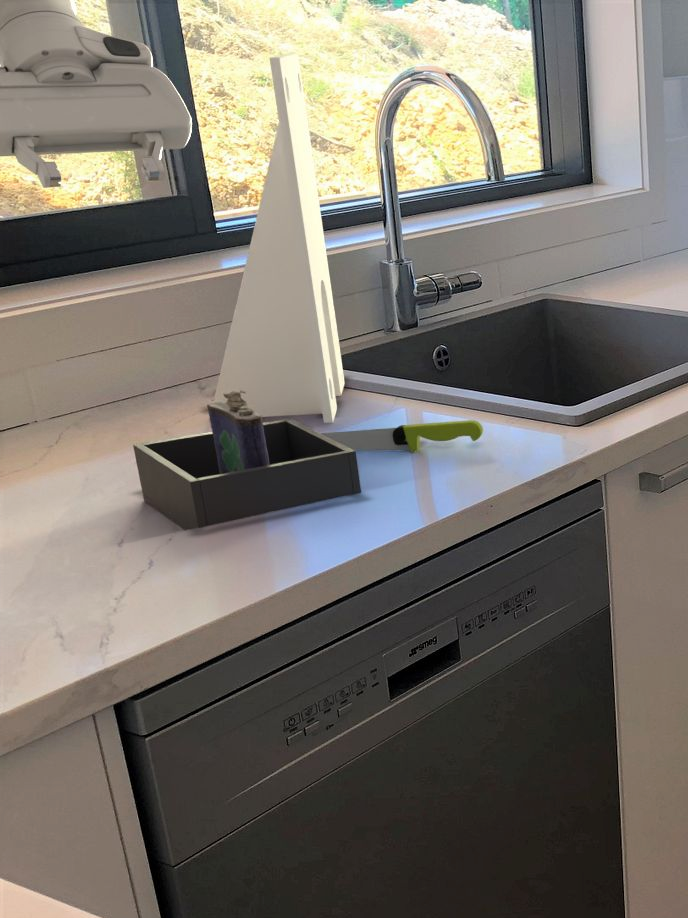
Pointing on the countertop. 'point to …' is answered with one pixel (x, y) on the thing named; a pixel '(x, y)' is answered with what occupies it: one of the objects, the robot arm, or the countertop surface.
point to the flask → (237, 434)
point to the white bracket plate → (286, 280)
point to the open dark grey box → (244, 476)
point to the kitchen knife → (406, 435)
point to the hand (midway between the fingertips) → (105, 180)
